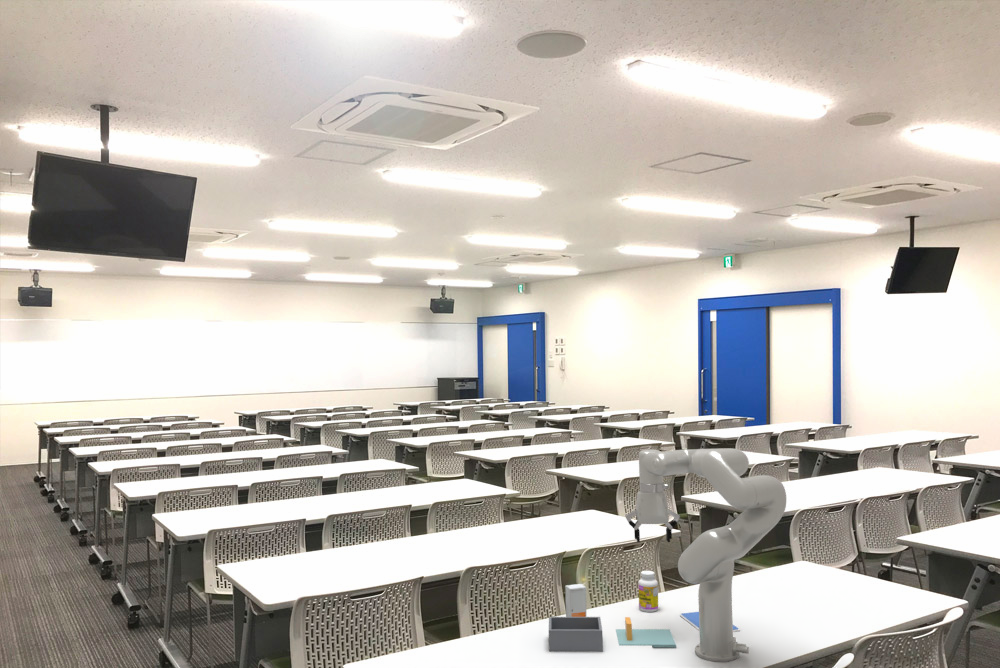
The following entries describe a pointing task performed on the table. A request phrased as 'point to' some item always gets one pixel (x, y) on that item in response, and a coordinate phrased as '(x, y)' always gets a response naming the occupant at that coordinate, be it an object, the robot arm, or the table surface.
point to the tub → (575, 634)
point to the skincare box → (575, 600)
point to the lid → (644, 636)
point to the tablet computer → (694, 620)
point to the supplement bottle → (648, 592)
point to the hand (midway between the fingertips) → (653, 541)
